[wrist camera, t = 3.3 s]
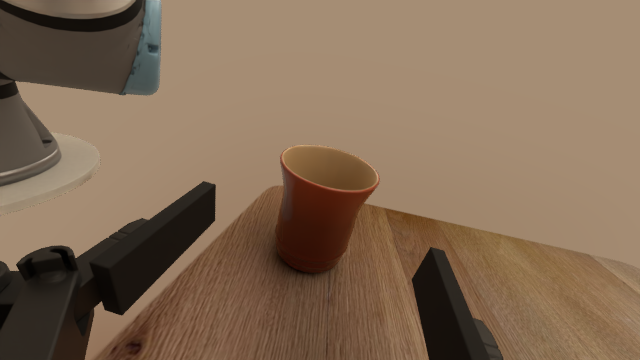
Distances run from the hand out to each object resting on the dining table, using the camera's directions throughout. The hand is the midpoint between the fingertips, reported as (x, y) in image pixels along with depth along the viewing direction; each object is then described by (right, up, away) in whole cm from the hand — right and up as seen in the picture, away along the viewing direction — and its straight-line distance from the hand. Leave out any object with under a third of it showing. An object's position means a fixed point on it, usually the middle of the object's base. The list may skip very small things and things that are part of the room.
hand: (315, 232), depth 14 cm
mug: (0, -4, +12) cm, 13 cm away
